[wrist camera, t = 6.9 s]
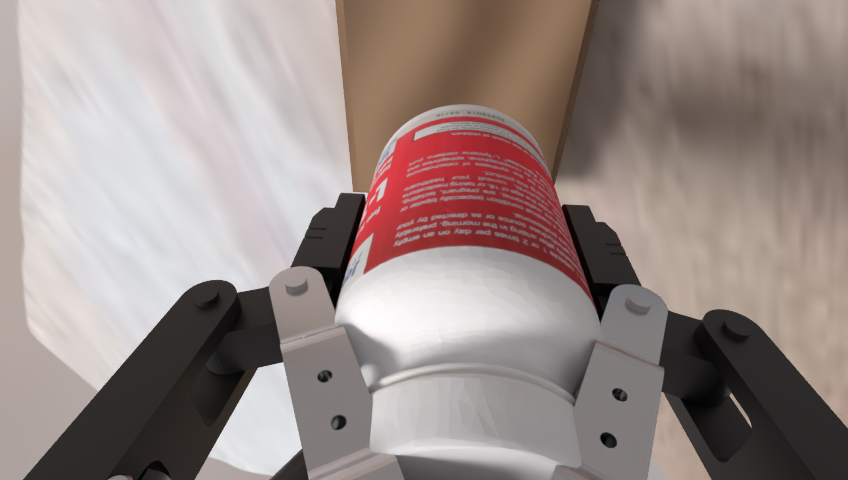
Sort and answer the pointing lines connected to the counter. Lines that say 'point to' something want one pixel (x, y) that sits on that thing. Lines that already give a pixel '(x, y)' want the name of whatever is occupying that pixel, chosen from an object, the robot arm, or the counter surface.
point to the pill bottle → (468, 303)
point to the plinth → (459, 67)
